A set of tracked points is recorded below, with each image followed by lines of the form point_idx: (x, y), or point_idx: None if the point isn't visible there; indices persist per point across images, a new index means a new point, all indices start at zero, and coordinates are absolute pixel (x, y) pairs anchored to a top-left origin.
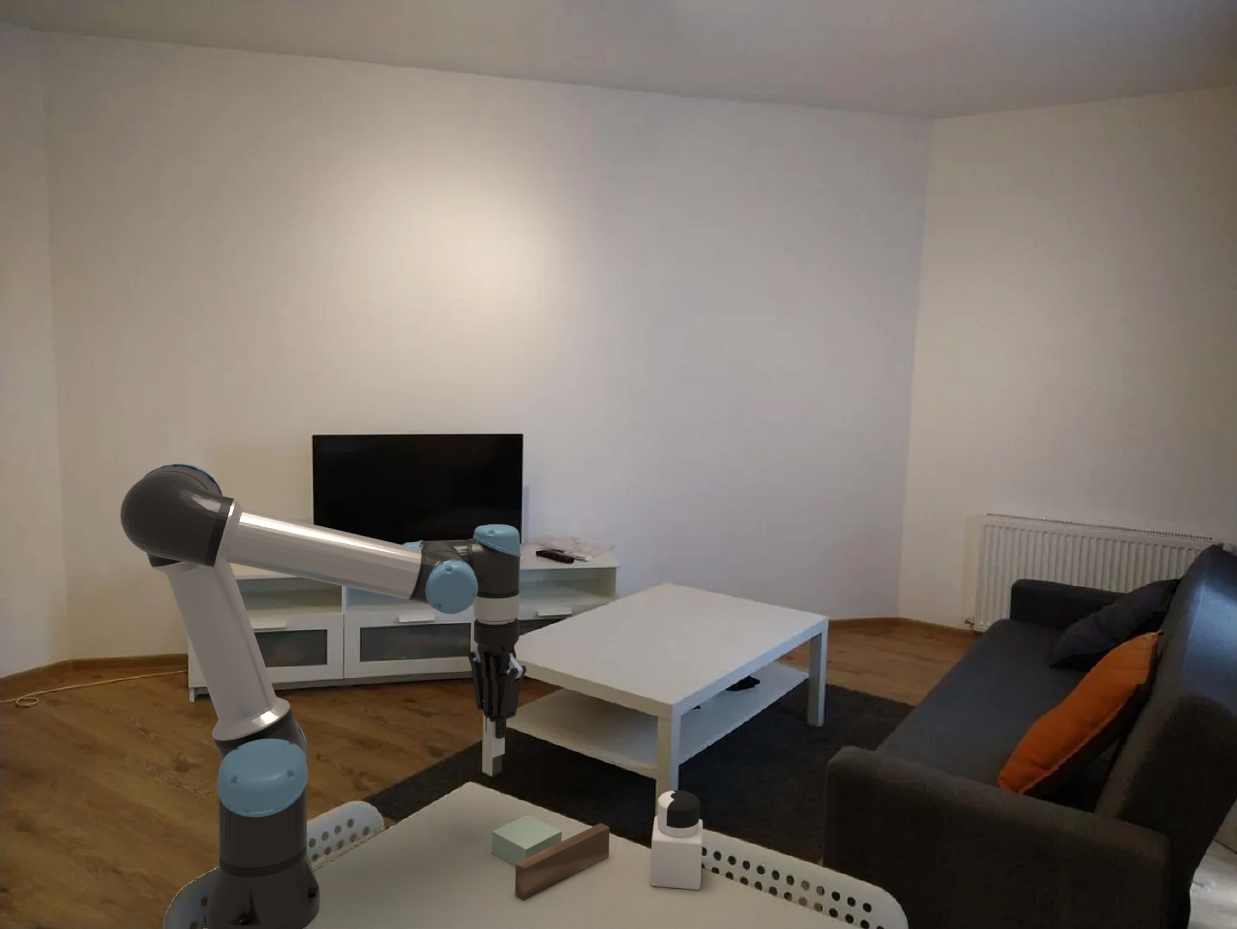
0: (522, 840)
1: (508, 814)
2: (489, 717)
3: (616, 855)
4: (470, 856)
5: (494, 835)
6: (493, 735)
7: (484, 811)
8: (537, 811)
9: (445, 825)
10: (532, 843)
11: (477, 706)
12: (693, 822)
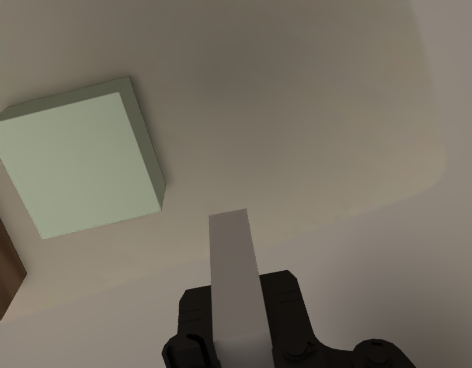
0: (34, 139)
1: (277, 191)
2: (269, 346)
3: None
4: (138, 20)
5: (110, 92)
6: (211, 284)
7: (324, 151)
8: None
9: (322, 34)
10: (9, 154)
11: (386, 352)
12: None
